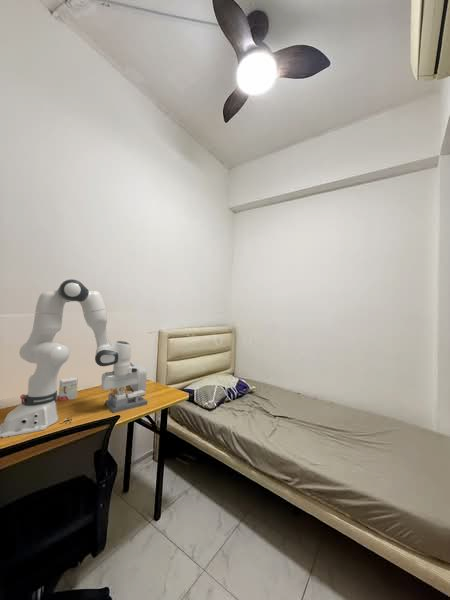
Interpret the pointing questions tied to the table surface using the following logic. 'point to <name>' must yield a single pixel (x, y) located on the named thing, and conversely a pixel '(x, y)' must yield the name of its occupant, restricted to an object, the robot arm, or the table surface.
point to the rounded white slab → (142, 373)
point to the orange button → (114, 391)
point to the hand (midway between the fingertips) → (120, 394)
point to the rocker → (135, 394)
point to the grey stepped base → (124, 403)
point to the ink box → (68, 389)
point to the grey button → (120, 396)
